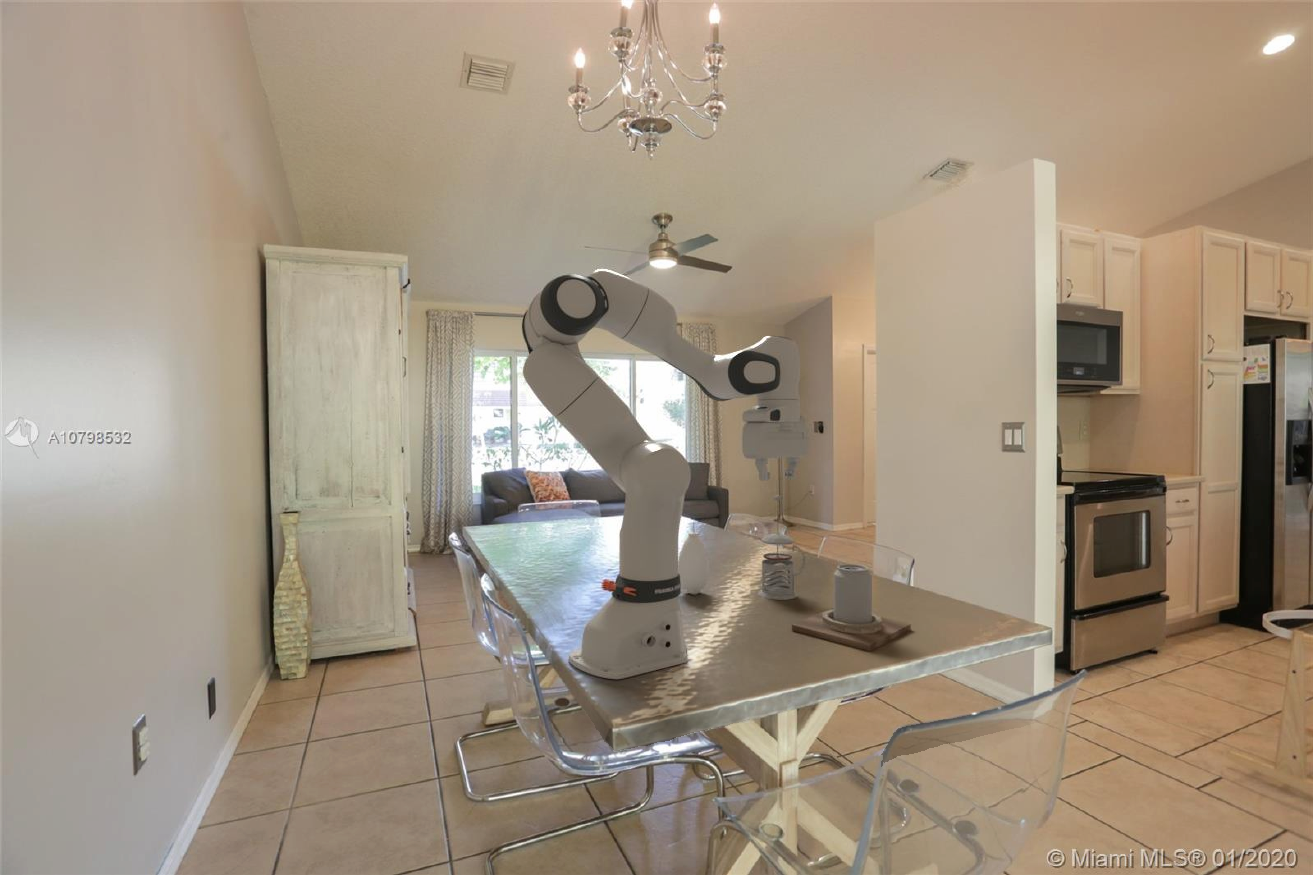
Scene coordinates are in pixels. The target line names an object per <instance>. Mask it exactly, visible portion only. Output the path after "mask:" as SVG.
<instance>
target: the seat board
mask: <svg viewBox="0 0 1313 875" xmlns="http://www.w3.org/2000/svg"><path fill="white" fill-rule="evenodd" d="M911 629H912V624H911V623H908V622H905V621H901V620H894V619H892V618H886V617H883V616H879V615H878V614H875V613H873V612H872V622H871V623H870V624H848V623H842V622H838V621H835V620H834V607H833V608H830V609H828V610H825V611H823V612H821V613H818V614H815V615H813V616H810V617H808V618H805V619H802V620H800V621H797V622H795V623H792V624H791V631H793V632H797V633H801V634H805V635H808V636H811V637H816V638H820V639H822V640H827V641H830V642H834V643H838V644H842V645H845V646H849V647H853V648H857V649H859V650H863V651H867V652H871V651H873V650H875V649H878V648H879V647H881V646H883V645H885V644H887V643H888V642H890V641H892V640H894V639H896V638H898V637H900V636H901V635H903V634H905V633H907V632H909V631H911Z"/></svg>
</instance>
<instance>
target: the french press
mask: <svg viewBox="0 0 1313 875" xmlns="http://www.w3.org/2000/svg"><path fill="white" fill-rule="evenodd" d="M782 499H783V498H782V496H781V495H779V494H776V495H774V496H773V500H774V501H782ZM776 507H777V510H776V513H777V516H776V517H777V525H776V526H777V527H776V529H777V532H776V533H771V534H767V535H765V536H764V537H762V538H761V542H762V543H763V544H768V545H775V546H777V547H776V552H772V553H771V552H769V553H765V554H763V556H762V558H764V559H763V560H762V561H761V589H760V590H759V591H758V592H759V593H758V592H757V595H758V596H759V595H761V596H763V597H762V598H764V597H765V598H764V599H769V600H776V601H777V600H779V601H781V600H782V601H783V600H785V601H787V600H791V599H795V598H797V596H798V593H796V592H795V589H794V588H795V577H796V576H798V575H800V574H801V573H802V572H803V571H804V569H805V565H806V556H805V554H804V552H803V550H802V549H801V548H800V547H799V546H797V545H795V544H793V543H794V542H795V539H793V538H792V537H791V536H789V535H787V534H783V533H780V532H779V506H776ZM791 544H793V545H792V547H791V548H792V552H795V548H796V549H797V550H799V552H801V554H802V557H803V559H802V560H803V563H802V566H801V568H800V569H799V570H798V571H796V572H794V562H793V561H791V559H792V558H793V556H792V555H791V554H788V553H782V552H781V553H779V546H780V545H781V546H783V545H784V546H785V545H791ZM777 564H778V565H777ZM779 564H780V565H779ZM781 564H783V565H781ZM783 570H785V571H783ZM786 571H787V572H786ZM786 576H787V577H786ZM766 579H767V580H766ZM766 584H767V585H766ZM761 596H760V597H761Z"/></svg>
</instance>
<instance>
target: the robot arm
mask: <svg viewBox="0 0 1313 875" xmlns="http://www.w3.org/2000/svg"><path fill="white" fill-rule="evenodd" d="M677 327H678V317H677V312H676V310H675V306H673V305H672V304H671V303H670V302H669V301H668V300H667V299H666V298H665V297H663V295H660V294H659V293H658V292H656V291H654V290H653V289H651V288H649V287H648V286H646V285H644V284H642V283H640V282H638V281H636V280H634V279H632V278H631V277H628V276H625V275H623V274H621V273H618V272H616V271H612V270H609V269H604V268H600V269H597V270H595V271H593V272H591V273H590V274H589V275H588V276H584V275H579V274H573V273H569V274H562V275H559V276H557V277H555V278H552V280H550V281H549V282H548V283H546V285H545V286H544V287H543V289H542V290H541V291H540V292H539V293H537V294H536V295H535V297H533V299H532V301H531V302H530V303H529V306H528V307H527V310H526V311H525V312H524V314H523V317H522V321H521V331H522V336H523V339H524V342H525V344H526V347H527V351H528V356H527V358H526V359H525V361H524V364H523V368H522V374H523V375H522V376H523V378H524V380H525V383H527V385H528V386H529V388H530V389H531V391H532V392H533V394H534V395H535V397H536V398H537V399H538V401H540V402H541V404H542V405H543V406H544V407H545V409H546V410H547V411H548V412H549V413H550V414H551V416H553V418H555V419H556V421H558V422H559V424H561V426H562V427H563V428H564V429H565V430H566V431H567V432H568V433H569V434H570V435H571V436H572V437H573V438H574V439H575V440H576V441H577V442H578V443H579V444H580V445H581V446H582V447H583V449H585V451H586V452H588V454H589V455H590V456H591V458H592V459H594V461H595V463H597V464H598V465H599V466H600V468H601V469H602V470H603V472H605V473H606V475H607V476H608V477H609V478H610V479H611V481H613V482H614V483H615V484H616V486H618V488H620V490H621V491H622V492H623V493H625V500H624V509H623V515H622V516H623V518H622V523H621V527H620V530H619V536H618V538H619V542H618V543H619V553H618V554H619V555H618V556H619V565H618V566H619V573H618V574H617V576H616V578H615V581H614V580H610V579H608V578H605V579H603V580H602V582H601V585H600V586H601V587H600V588H601V589H602V590H603V591H608V592H610V593H611V597H610V599H608V600H607V602H606V603H605V604H604V605H603V606H602V607H601V608H600V609H599V611H598V612H597V613H596V614H595V615H594V616H593V617H592V618H591V619H590V620H589V621H588V622H587V623H586V625H585V626H584V630H583V633H582V639H581V641H582V642H581V647H580V648H577V649H575V650H574V651H572V652H569V654H568V661H569V662H570V664H571V665H572V666H573V667H575V668H576V669H578V670H580V671H583V672H584V673H587V674H589V675H593V676H595V677H599V678H604V679H609V680H610V679H611V680H621V679H622V680H623V679H626V678H630V677H633V676H638V675H641V674H645V673H650V672H654V671H656V670H657V671H658V670H661V669H665V668H670V667H672V666H676V665H681V664H685V663H688V660H689V658H688V654H687V651H688V648H687V644H686V641H685V636H684V635H685V634H684V628H683V619H682V613H681V607H680V601H679V600H680V598H679V596H680V595H681V593H682V592H681V589H682V588H681V586H682V585H681V582H680V574H679V573H678V561H679V532H680V525H681V520H682V515H683V508H684V502H685V496H686V492H687V490H688V489H689V486H690V484H691V478H692V473H691V468H690V465H689V462H688V460H687V459H686V457H685V456H684V455H683V454H682V453H681V452H680V451H679V450H677V448H675V447H674V446H672V445H670V444H667V443H663V442H657V441H655V440H654V439H652V438H651V437H650V436H649V434H648V433H647V432H646V431H645V429H644V428H643V426H642V425H641V424H640V423H639V421H638V420H637V419H636V417H635V416H634V414H633V413H632V412H631V408H630V407H629V406H628V405H627V404H626V403H625V401H623V400H622V398H620V396H619V395H618V394H617V393H616V392H615V391H614V390H613V389H612V387H611V386H610V385H608V384H607V383H606V381H604V379H603V378H602V377H601V376H600V375H599V374H598V373H597V372H596V371H595V370H594V369H593V367H591V366H590V365H589V364H587V362H586V360H585V359H584V357H583V356H582V355H583V354H581V351H580V347H579V342H581V341H582V340H583V339H584V338H585V337H586V335H587V334H588V333H589V332H590V331H591V330H592V329H594V328H595V329H602V330H604V331H607V332H609V333H610V334H612V335H614V336H615V337H617V338H619V339H620V340H622V341H624V342H626V343H629V344H630V345H632V346H634V347H636V348H639V349H641V350H643V351H645V352H648V353H649V354H651V355H653V356H656V357H657V358H658V359H660V360H662V361H663V362H665V363H667V364H668V365H670V366H671V367H673V368H675V369H676V370H678V371H679V372H681V373H683V375H686V376H688V377H689V378H690V379H692V380H693V381H694V382H695V384H696V385H697V386H698V387H699V388H700V389H701V391H702V393H704V394H705V396H707V397H708V398H709V399H711V400H713V401H717V402H725V401H730V400H733V399H742V398H749V397H753V396H757V404H756V405H754V406H753V407H751V408H749V409H747V410H745V411H743V412H742V415H741V416H742V417H741V419H742V422H744V425H743V427H742V432H741V433H742V434H741V435H742V436H741V450H742V454H743V456H744V458H745V459H749V460H750V459H752V460H755V462H754V465H755V467H756V469H757V471H758V480H759V481H761V482H767V481H770V479H771V472H770V471H768V468H767V465H768V462H769V461H768V460H769V459H785V458H786V459H787V460H786V461H787V463H788V464H787V468H786V469H785V470H784V477H785V478H784V479H786V480H787V479H788V480H791V479H795V478H796V476H797V475H796V471H797V469H798V466H799V464H800V458H808V457H809V455H810V452H811V439H810V430H809V426H808V424H807V421H806V420H805V419H804V416H803V415H801V414H800V412H801V407H800V406H801V397H800V394H799V384H800V381H801V360H800V352H799V351H800V350H799V348H798V345H797V343H796V342H795V341H794V340H793V339H791V338H789V337H785V336H779V335H778V336H777V335H767V336H764V337H763V338H761V340H759V341H758V342H756V343H755V344H752V345H750V346H748V347H746V348H743V349H741V350H738V351H734V352H731V353H726V354H713V353H707V352H706V351H704V350H703V349H702V348H700V347H699V346H696V345H695V344H693V342H690V341H689V340H688V339H686V338H685V337H683V336H682V335H681V334H680V333H679V332H678V330H677Z"/></svg>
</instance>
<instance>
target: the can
mask: <svg viewBox="0 0 1313 875" xmlns="http://www.w3.org/2000/svg"><path fill="white" fill-rule="evenodd" d="M836 567H837V569H836V570H835V571H834V572H833V608H834V620H835V621H838V622H842V623H848V624H870V623H871V622H872V613H873V609H872V608H873V607H872V606H873V604H872V602H873V584H872V583H873V576H872V574H871V573H870V572H869V570H870V569H869V567H867V566H866V565H861V564H854V563H850V564H849V563H843V564H839V565H837V566H836Z"/></svg>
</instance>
